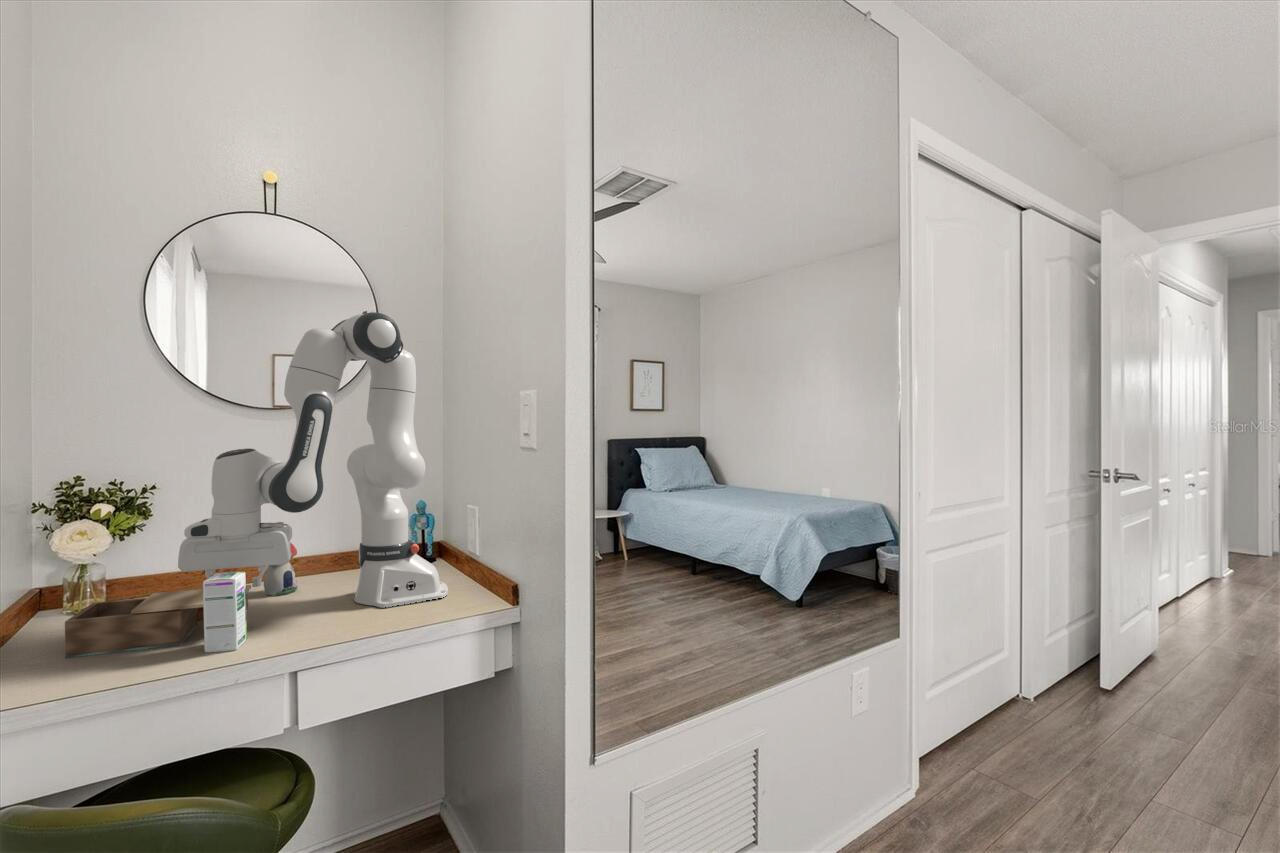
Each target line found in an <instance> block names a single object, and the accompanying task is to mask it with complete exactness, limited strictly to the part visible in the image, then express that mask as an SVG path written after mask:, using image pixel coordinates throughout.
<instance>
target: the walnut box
mask: <svg viewBox="0 0 1280 853" xmlns="http://www.w3.org/2000/svg"><path fill="white" fill-rule="evenodd" d="M146 598H147V597H141V598H130V599H118V600H116V599H115V600H106V601H97V602H96V601H94V602H92V603H90V604H89V605H88V606H86V607H85V608H83V609H82V610H80V611H79V612H77V613H76V614H74V615H73V616H71V617H70V618H68V619H67V620H65V621H64V646H65V648H64V650H65V652H64V654H65V655H64V656H65V659H69V657H71V658H78V656H79V657H86V655H88V656H95V654H97V655H104V654H113V653H122V652H130V651H140V650H147V649H149V648H150V649H156V648H157V649H158V648H165V647H173V646H174V647H175V645H176V646H181V645H182V644H183V643H184V642H185V641H186V639H188V637H189V636H190V635H191V633H192V632H193V631H195V629H196V628H197V627H198V625H199V622H198V608H188V609H178V610H167V611H157V612H146V613H136V614H131V611H132V610H133V609H134V608H135V607H137V606H138V605H139V604H140V603H141V602H143V601H144V600H145V599H146ZM150 649H149V650H150Z"/></svg>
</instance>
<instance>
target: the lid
mask: <svg viewBox="0 0 1280 853" xmlns="http://www.w3.org/2000/svg"><path fill="white" fill-rule="evenodd" d="M251 589H252V584H247V585H246V594H247V595H248V593H249V591H250V590H251ZM145 598H146V599H145V600H144V601H143V602H141V603H140V604H139V605H138V606H137V607H135V608H134V609H133V610H132V611H131V614H136V613H146V612H157V611H167V610H178V609H188V608H199V607H203V588H198V589H188V590H187V589H185V590H176V591H175V590H174V591H162V592H153V593H151V595H149V596H148V597H145Z"/></svg>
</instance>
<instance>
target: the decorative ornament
mask: <svg viewBox="0 0 1280 853" xmlns="http://www.w3.org/2000/svg"><path fill="white" fill-rule="evenodd" d="M290 547H291V559H290V560H292V559H293V558H294V557H295V556H297V554H298V550H297V547H296V546H295V545H294V544H293V543H292V542H291V541H290ZM290 560H289V561H288V562H287V563H286V564H283V565H270V566H267V570H266V571H265V573H264V577H263V578H264V579H263V588H264V592H265V594H266V595H267V596H275V597H280V596H284V595H289V594H292V593H295V592H296V590H297V589H298V586H299V583H298V581H297V579H296V573H295V569H294V568H293V566H292V564H291V562H290Z"/></svg>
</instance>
